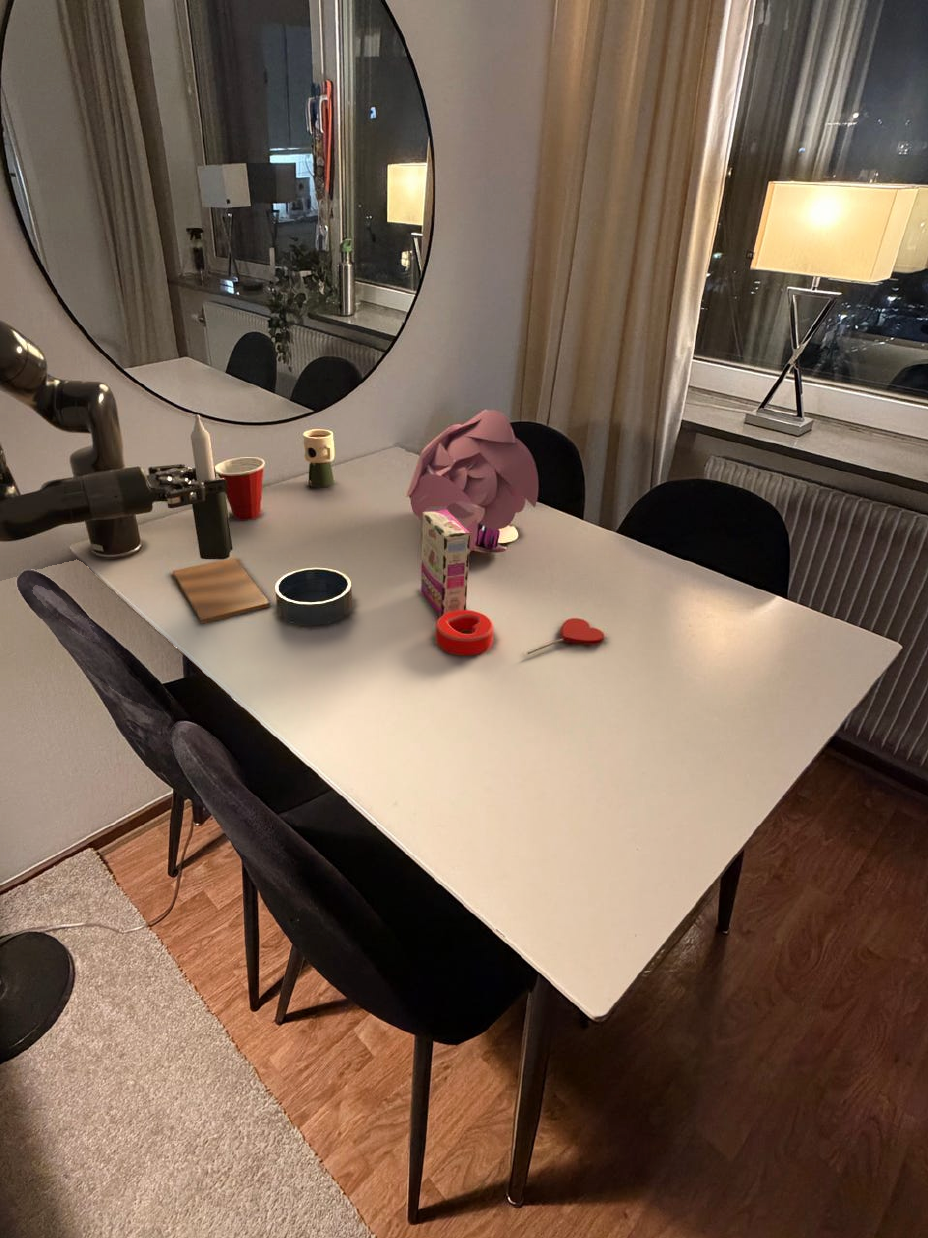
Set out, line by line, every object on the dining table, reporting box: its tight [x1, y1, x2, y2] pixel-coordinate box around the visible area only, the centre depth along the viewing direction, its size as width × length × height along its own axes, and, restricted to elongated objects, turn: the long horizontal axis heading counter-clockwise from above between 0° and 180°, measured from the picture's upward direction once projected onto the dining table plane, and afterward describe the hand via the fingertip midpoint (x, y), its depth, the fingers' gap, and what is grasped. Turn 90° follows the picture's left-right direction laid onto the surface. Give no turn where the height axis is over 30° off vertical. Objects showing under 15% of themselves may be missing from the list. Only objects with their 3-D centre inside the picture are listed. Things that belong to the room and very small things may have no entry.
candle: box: [190, 413, 234, 560], centre depth 126 cm, size 5×5×25 cm
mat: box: [172, 557, 271, 624], centre depth 136 cm, size 20×12×1 cm, turn 32°
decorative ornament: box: [435, 609, 494, 656], centre depth 125 cm, size 10×10×3 cm
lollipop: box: [526, 617, 605, 655], centre depth 125 cm, size 8×1×15 cm
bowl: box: [274, 567, 353, 627], centre depth 131 cm, size 13×13×4 cm
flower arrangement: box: [405, 409, 539, 554], centre depth 155 cm, size 35×24×28 cm
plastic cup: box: [214, 456, 266, 521], centre depth 162 cm, size 11×11×12 cm
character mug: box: [302, 428, 335, 488], centre depth 179 cm, size 11×7×13 cm, turn 38°
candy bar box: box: [420, 510, 470, 618], centre depth 131 cm, size 11×5×16 cm, turn 23°
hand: (220, 477), depth 126 cm, fingers closed on candle, 6 cm apart
